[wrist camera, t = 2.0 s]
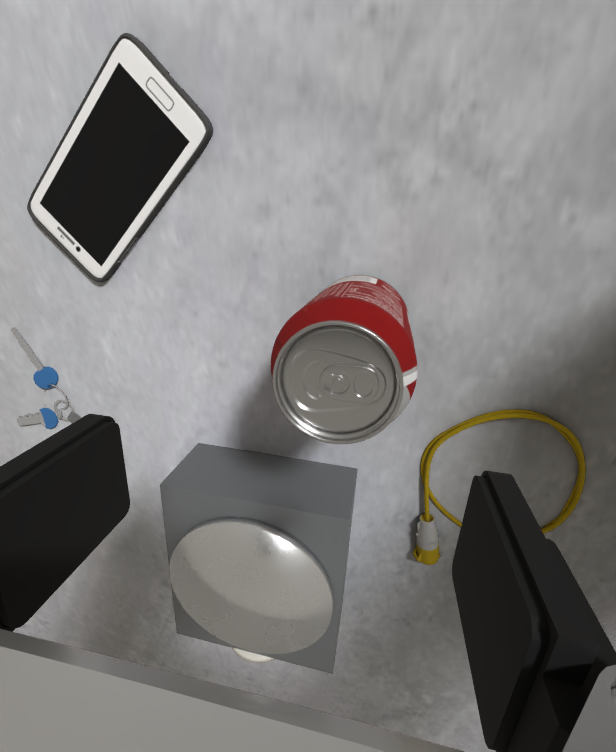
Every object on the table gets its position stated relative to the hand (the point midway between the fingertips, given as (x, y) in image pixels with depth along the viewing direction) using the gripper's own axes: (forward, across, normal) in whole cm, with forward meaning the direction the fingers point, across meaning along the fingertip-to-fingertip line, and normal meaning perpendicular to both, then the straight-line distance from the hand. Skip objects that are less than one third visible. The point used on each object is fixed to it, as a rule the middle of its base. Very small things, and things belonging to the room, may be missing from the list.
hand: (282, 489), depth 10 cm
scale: (+19, +5, +20) cm, 28 cm away
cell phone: (+20, +17, -10) cm, 28 cm away
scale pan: (+13, +5, +20) cm, 24 cm away
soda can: (+19, -1, 0) cm, 19 cm away
